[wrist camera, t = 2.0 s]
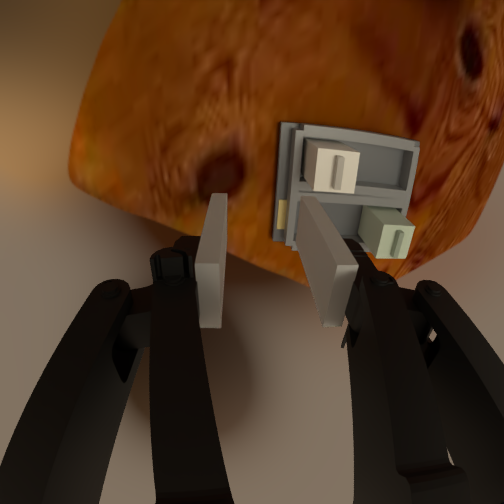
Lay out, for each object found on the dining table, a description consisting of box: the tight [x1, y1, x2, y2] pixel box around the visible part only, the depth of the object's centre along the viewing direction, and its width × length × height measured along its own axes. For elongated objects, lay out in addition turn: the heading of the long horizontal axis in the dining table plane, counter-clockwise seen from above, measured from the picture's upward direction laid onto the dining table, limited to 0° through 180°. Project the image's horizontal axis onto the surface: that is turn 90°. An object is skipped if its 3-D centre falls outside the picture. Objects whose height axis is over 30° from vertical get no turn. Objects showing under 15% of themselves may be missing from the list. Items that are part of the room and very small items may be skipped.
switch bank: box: [272, 122, 420, 252], centre depth 33 cm, size 14×17×3 cm
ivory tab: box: [301, 138, 360, 194], centre depth 28 cm, size 4×4×7 cm
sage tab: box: [358, 205, 415, 259], centre depth 32 cm, size 4×4×7 cm
